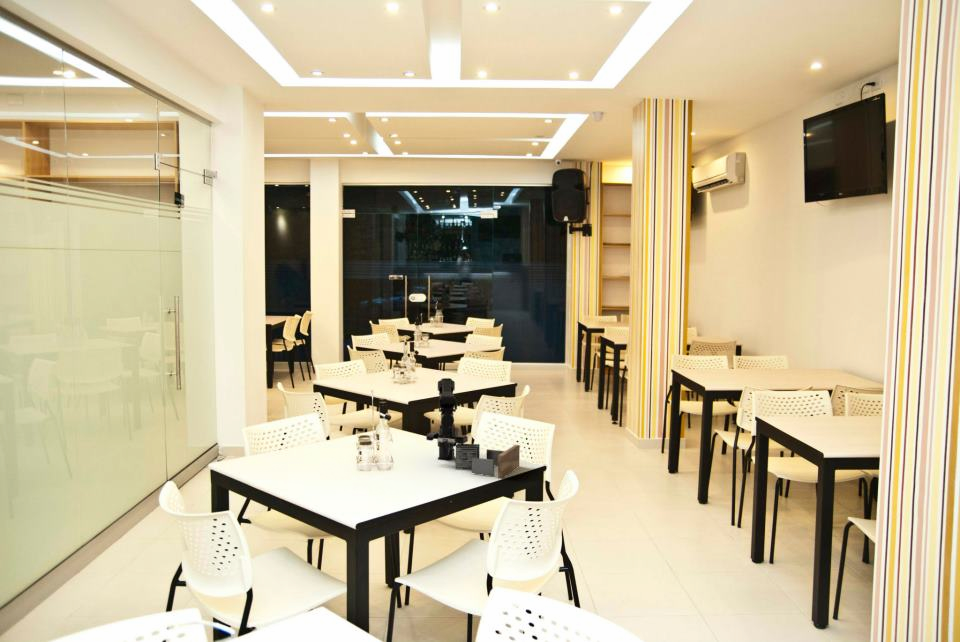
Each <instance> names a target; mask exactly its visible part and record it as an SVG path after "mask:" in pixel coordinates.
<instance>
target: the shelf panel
mask: <svg viewBox="0 0 960 642" xmlns="http://www.w3.org/2000/svg"><path fill="white" fill-rule="evenodd" d="M520 447H521V445H519V444H514V445H513V446H512V447H509V448H507V449H506V450H503V451H504V452H503V453H501V454H500V455H498V466H497V471H498V472H497V479H499V478H500V480H502V479H505V478H506V477H507V476H508V475H510V474H511V473H513V472H514V471H515V470H514V469H516V468H517V467H518V468H520V451H521V450H520ZM518 468H517V469H518ZM517 469H516V470H517ZM513 470H514V471H513ZM512 471H513V472H512ZM510 472H511V473H510ZM509 473H510V474H509ZM506 475H507V476H506ZM505 476H506V477H505Z"/></svg>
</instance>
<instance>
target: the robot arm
mask: <svg viewBox="0 0 960 642" xmlns="http://www.w3.org/2000/svg"><path fill="white" fill-rule="evenodd" d="M455 386H456V382H455V381H454V380H453V379H452V378H451V377H449V378H448V377H444V378H441V379H440V380H438V381H437V392H438V396H439V398H438V413H440V425H439V430H438V432H437V431H436V432H434V431H431V432H429V433H427V434H426V441H431V442H432V441H434V439H436V440H437V447H438V457H437V458H438V459H437V460H443V459H444V460H443V461H451V460H453V459H454V457H455V458H456V455H455V448H456V445H457V444H467V443H468V441H469V439H468V436H467V434H466V435H465V434H459V430H460V429H459V428H457V427H456V426H455V423H454V422H455V418H454V413H456V412H457V411H456V410H458V400H457V398H456V397H455V394H454V392H455V390H456V387H455ZM454 447H455V448H454Z"/></svg>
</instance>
